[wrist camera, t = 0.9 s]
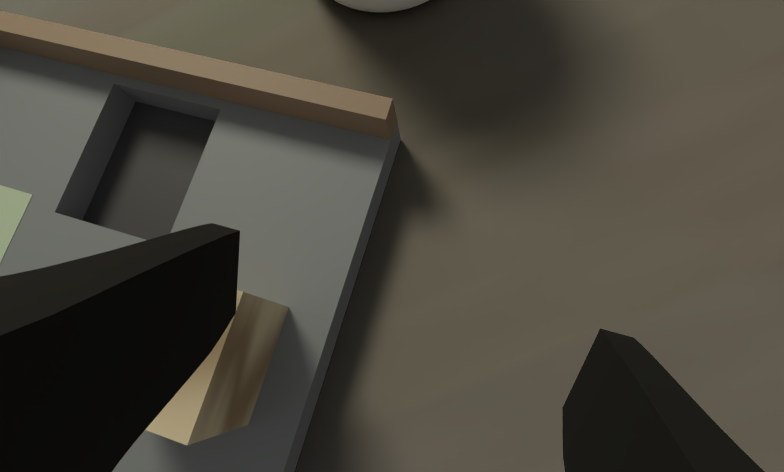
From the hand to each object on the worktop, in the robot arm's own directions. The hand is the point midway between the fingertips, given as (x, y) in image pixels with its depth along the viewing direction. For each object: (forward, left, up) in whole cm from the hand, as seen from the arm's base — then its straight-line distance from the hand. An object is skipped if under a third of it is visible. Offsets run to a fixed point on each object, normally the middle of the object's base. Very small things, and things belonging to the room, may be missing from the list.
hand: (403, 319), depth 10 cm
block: (-3, +8, -11) cm, 14 cm away
